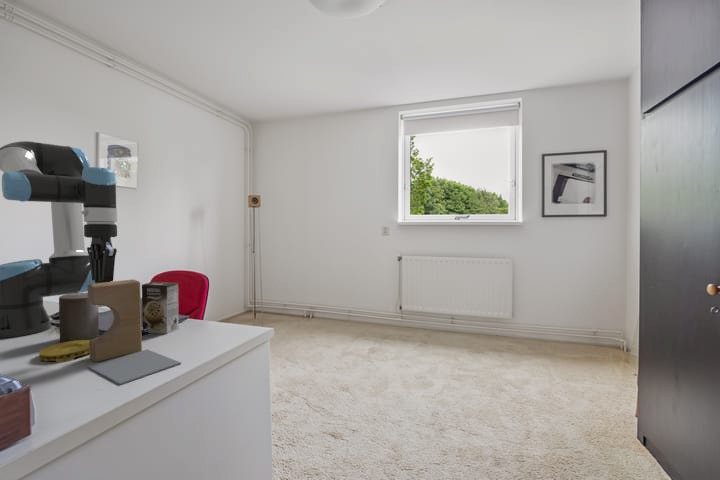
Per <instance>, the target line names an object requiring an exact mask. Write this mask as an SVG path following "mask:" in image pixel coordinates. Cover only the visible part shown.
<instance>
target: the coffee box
mask: <svg viewBox="0 0 720 480" xmlns="http://www.w3.org/2000/svg"><path fill="white" fill-rule="evenodd" d="M141 295H142V320H143V329H147V330H148V333H147V334H161V335H168V334H170V333H172V332H175V331H176V330H178V329H179V326H180V325H179V282H167V281H164V282H163V281H153V282H147V283H144V284H141Z"/></svg>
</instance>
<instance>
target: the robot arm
mask: <svg viewBox="0 0 720 480" xmlns="http://www.w3.org/2000/svg"><path fill="white" fill-rule="evenodd" d="M0 171H1V172H2V175H1V193H2V196H3V198H4V199H5V200H7V201H16V202H17V201H19V202H23V203H24V202H37V203H41V202H42V203H43V202H44V203H50V207H51V208H50V209H51V210H50V211H51V220H52V221H51V225H52V236H53V251H54V252H53V253H52V254H51V255H50V256H49V257H48V262H44V263H43V261H42V259H39V258H36V259H35V258H34V259H27V260H18V261H12V262H6V263H2V264H0V339H6V338H16V337H22V336H27V335H28V336H29V335H32V334H37V333H40V332H43V331H46V330H49V329H50V328H51V327H52V321H51V319H50V316H49V315H48V312H47V310H46V309H45V306H44V298H45V297H55V296H62V295H67V294H74V293H78V291H79V293H86V292H87V293H88V286H87V285H89V284H93V283H104V282H113V281H114V275H115V264H116V263H115V262H116V255H117V252H118V250H117V248H114V247H113V243H112V239H111V238H116V237H118V225H117V222H118V211H117V209H118V208H117V180H116V173H115V171H114V170H113V169H111V168H105V167H97V166H96V167H95V166H90V161H89V157H88V155H87V153H86V152H85V151H84V150H83V149H81V148H79V147H72V146H70V145H59V144H51V143H45V142H44V143H43V142H42V143H41V142H35V141H26V140H25V141H24V140H23V141H16V142H15V141H14V142H10V143H7V144H5V145H3V146H0ZM82 206H83V207H82ZM84 222H85V224H84ZM85 238H91V241H90V246H87V248H85V246H86V245H85ZM86 250H87V251H86ZM97 307H98V308H102V307H105V306H104V305H97Z"/></svg>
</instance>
